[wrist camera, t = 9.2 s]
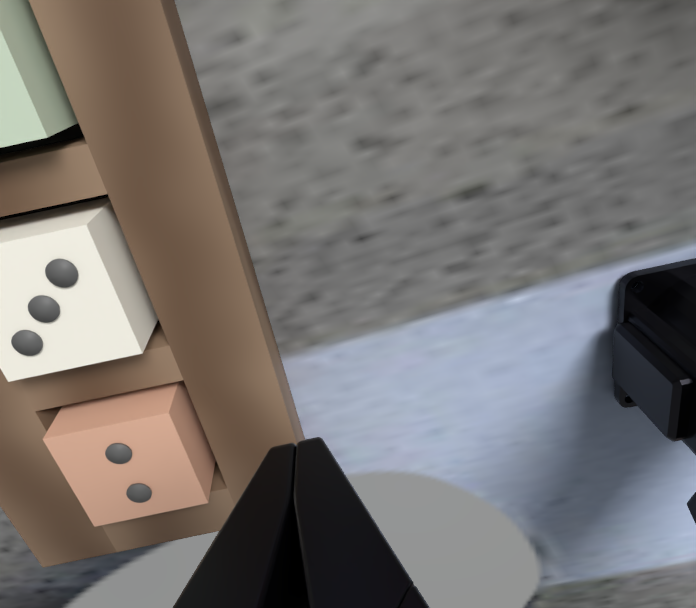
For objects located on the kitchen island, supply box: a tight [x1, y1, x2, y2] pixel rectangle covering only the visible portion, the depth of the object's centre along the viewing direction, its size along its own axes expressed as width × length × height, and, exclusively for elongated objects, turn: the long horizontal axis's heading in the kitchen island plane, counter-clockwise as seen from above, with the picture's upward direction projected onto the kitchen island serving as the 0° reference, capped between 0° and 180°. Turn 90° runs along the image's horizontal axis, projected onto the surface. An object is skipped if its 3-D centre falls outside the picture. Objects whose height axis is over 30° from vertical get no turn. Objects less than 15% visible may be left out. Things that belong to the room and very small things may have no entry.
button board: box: [0, 0, 305, 567], centre depth 19 cm, size 12×24×2 cm, turn 11°
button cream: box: [0, 197, 158, 382], centre depth 18 cm, size 4×4×3 cm
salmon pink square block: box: [43, 380, 216, 527], centre depth 21 cm, size 4×4×3 cm
